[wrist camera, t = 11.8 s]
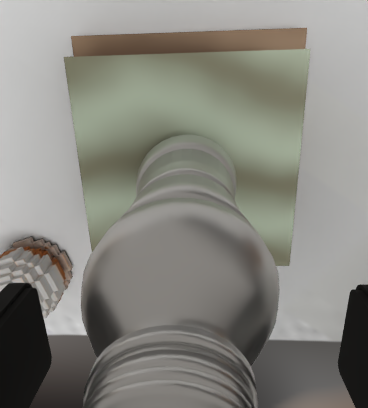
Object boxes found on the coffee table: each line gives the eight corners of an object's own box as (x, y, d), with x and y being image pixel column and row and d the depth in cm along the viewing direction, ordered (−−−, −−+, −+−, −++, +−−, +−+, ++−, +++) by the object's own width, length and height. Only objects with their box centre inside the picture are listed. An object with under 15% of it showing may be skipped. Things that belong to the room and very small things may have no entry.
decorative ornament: (-5, 246, 39) (-115, 342, 25) (55, 228, 38) (-26, 318, 24) (27, 299, 42) (-58, 413, 28) (84, 284, 41) (25, 394, 27)
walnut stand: (282, 232, 37) (311, 286, 28) (103, 234, 38) (74, 287, 29) (300, 30, 30) (346, 12, 21) (78, 38, 31) (28, 24, 22)
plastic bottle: (123, 166, 25) (-91, 452, 6) (196, 107, 23) (201, 257, 5) (179, 229, 27) (139, 601, 8) (250, 178, 25) (414, 499, 6)
